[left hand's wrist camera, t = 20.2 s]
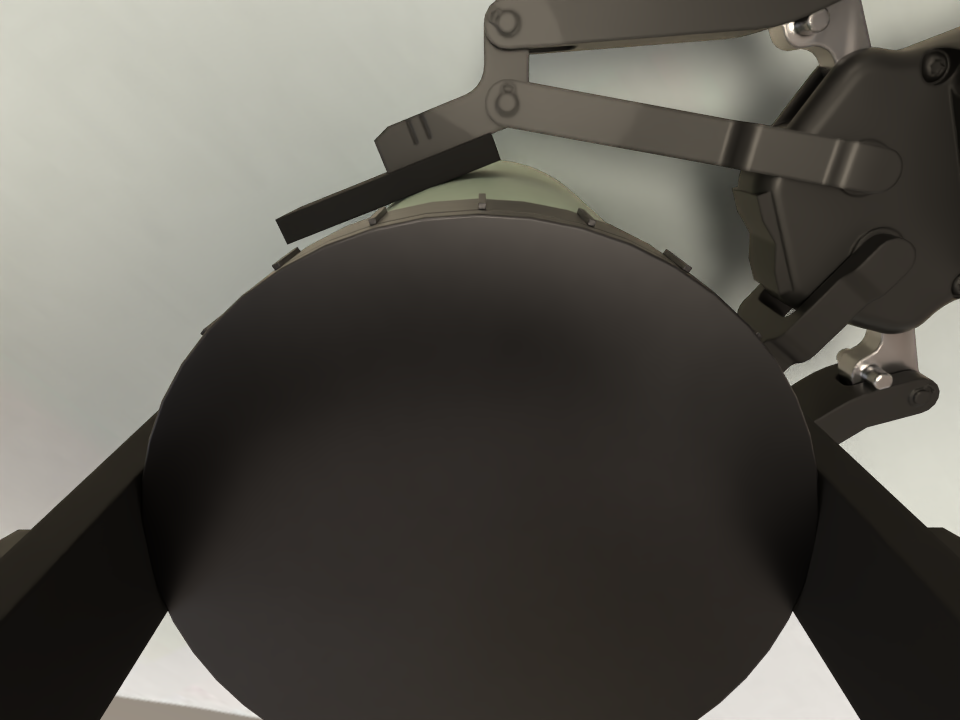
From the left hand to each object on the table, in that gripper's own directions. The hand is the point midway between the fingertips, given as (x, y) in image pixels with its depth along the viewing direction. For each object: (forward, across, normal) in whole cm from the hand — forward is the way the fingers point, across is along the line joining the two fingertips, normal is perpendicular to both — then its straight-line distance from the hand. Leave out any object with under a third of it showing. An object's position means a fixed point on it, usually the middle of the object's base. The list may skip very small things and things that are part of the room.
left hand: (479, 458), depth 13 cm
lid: (-3, 0, 0) cm, 3 cm away
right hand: (+8, -4, -2) cm, 9 cm away
